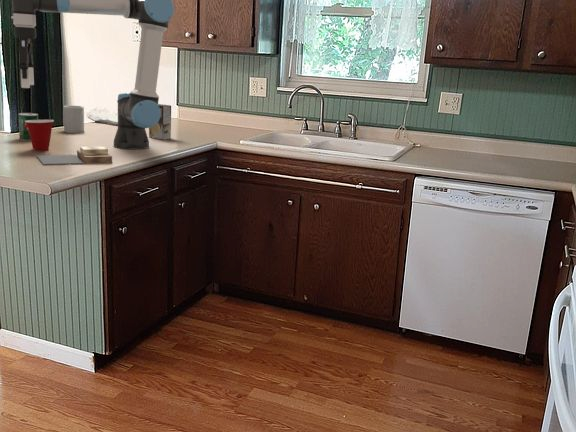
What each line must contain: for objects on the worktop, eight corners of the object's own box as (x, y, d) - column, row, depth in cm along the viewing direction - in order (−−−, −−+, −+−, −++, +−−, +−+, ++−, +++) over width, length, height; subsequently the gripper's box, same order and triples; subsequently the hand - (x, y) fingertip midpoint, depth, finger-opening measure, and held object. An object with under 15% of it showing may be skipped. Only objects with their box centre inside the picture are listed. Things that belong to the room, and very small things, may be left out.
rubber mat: (75, 156, 235) (75, 154, 235) (83, 164, 222) (83, 162, 222) (36, 156, 228) (36, 155, 228) (43, 165, 215) (43, 163, 215)
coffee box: (171, 138, 294) (172, 105, 289) (163, 139, 288) (163, 106, 284) (156, 136, 297) (157, 103, 293) (148, 137, 292) (148, 103, 288)
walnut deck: (103, 155, 239) (103, 149, 239) (112, 162, 228) (112, 156, 227) (77, 156, 234) (77, 150, 234) (84, 163, 223) (84, 156, 222)
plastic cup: (42, 146, 250) (41, 117, 246) (60, 149, 245) (59, 120, 242) (19, 148, 240) (18, 118, 237) (38, 152, 236) (37, 122, 232)
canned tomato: (32, 141, 258) (31, 115, 255) (15, 139, 260) (14, 113, 257) (42, 139, 266) (42, 114, 263) (26, 137, 267) (25, 112, 264)
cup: (80, 133, 288) (79, 108, 285) (61, 132, 288) (60, 106, 285) (86, 130, 297) (86, 106, 294) (68, 129, 297) (67, 105, 294)
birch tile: (104, 151, 235) (104, 146, 235) (108, 154, 230) (108, 149, 230) (80, 151, 231) (80, 146, 230) (83, 154, 226) (83, 149, 225)
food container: (99, 113, 340) (95, 105, 337) (137, 123, 326) (134, 114, 323) (84, 123, 333) (80, 114, 329) (123, 134, 319) (120, 124, 315)
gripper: (18, 26, 228) (21, 83, 234) (8, 25, 205) (11, 88, 211) (39, 27, 230) (42, 84, 236) (31, 27, 207) (35, 89, 213)
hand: (27, 86), depth 224 cm, fingers open, 13 cm apart
